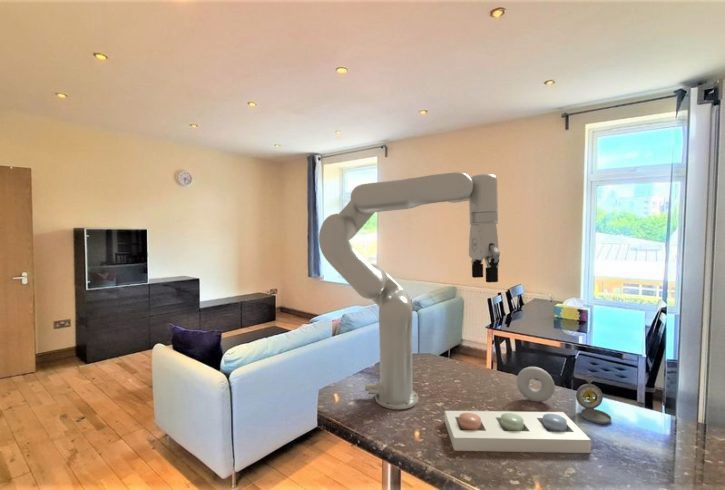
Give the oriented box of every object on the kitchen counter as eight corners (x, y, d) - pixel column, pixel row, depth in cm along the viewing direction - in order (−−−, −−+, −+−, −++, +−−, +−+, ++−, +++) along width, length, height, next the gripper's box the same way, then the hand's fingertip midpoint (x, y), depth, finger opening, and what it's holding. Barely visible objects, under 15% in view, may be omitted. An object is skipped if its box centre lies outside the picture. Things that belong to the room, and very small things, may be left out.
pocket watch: (602, 428, 89) (602, 388, 89) (569, 412, 97) (569, 376, 96) (620, 419, 93) (620, 381, 93) (587, 405, 101) (587, 370, 100)
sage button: (505, 432, 84) (505, 423, 84) (498, 420, 89) (498, 412, 89) (526, 432, 84) (526, 424, 83) (518, 421, 89) (518, 413, 88)
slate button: (548, 433, 83) (548, 424, 83) (539, 421, 88) (539, 413, 88) (570, 433, 83) (571, 424, 83) (560, 421, 88) (560, 413, 88)
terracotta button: (461, 431, 84) (461, 423, 84) (457, 420, 89) (457, 412, 89) (483, 432, 84) (483, 423, 84) (477, 420, 89) (477, 412, 89)
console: (454, 450, 81) (454, 437, 81) (444, 421, 93) (444, 410, 93) (590, 453, 80) (590, 439, 79) (563, 423, 92) (563, 412, 91)
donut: (554, 401, 103) (554, 367, 102) (554, 407, 100) (555, 372, 99) (516, 395, 107) (516, 362, 107) (515, 400, 104) (516, 366, 104)
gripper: (459, 220, 109) (460, 276, 110) (483, 218, 92) (484, 284, 93) (483, 219, 110) (484, 275, 110) (511, 217, 92) (512, 283, 93)
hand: (484, 279), depth 102 cm, fingers open, 9 cm apart
